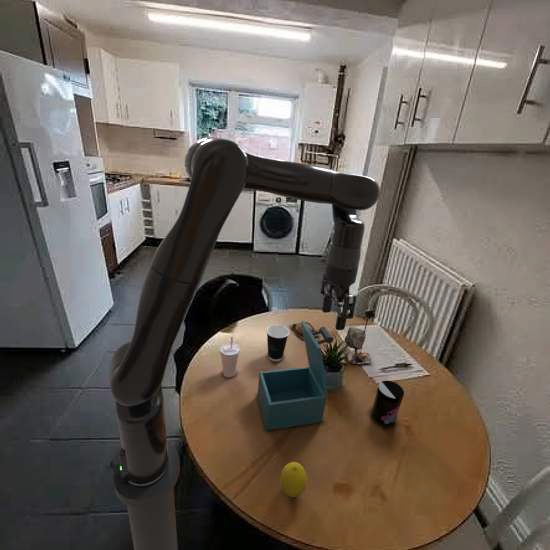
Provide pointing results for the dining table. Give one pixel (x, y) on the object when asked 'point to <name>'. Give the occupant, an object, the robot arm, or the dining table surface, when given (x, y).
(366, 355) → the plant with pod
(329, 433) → the dining table surface
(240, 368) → the dining table surface
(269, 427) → the teal lidded box
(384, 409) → the supplement container
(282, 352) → the dixie cup
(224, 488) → the dining table surface
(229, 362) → the smoothie
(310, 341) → the lid
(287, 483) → the lemon
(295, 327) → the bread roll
